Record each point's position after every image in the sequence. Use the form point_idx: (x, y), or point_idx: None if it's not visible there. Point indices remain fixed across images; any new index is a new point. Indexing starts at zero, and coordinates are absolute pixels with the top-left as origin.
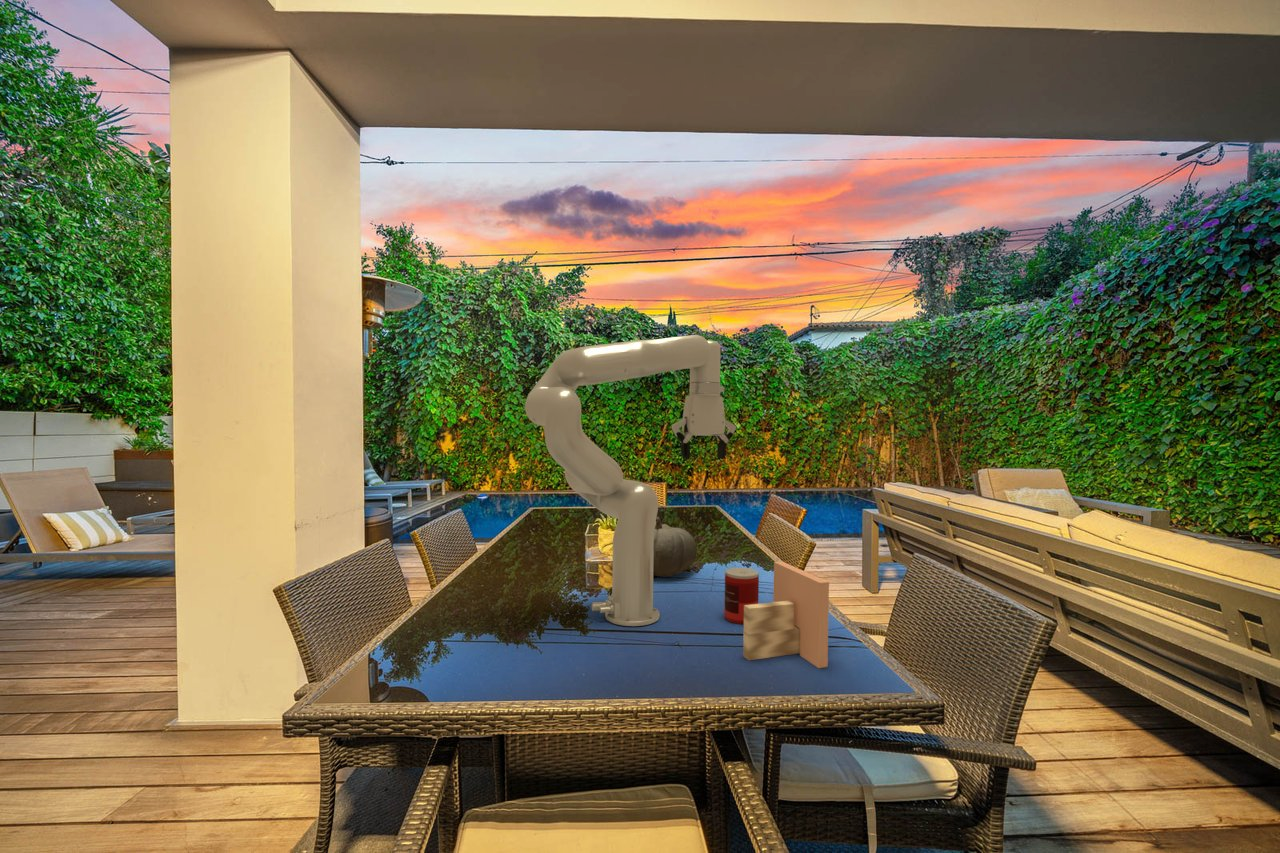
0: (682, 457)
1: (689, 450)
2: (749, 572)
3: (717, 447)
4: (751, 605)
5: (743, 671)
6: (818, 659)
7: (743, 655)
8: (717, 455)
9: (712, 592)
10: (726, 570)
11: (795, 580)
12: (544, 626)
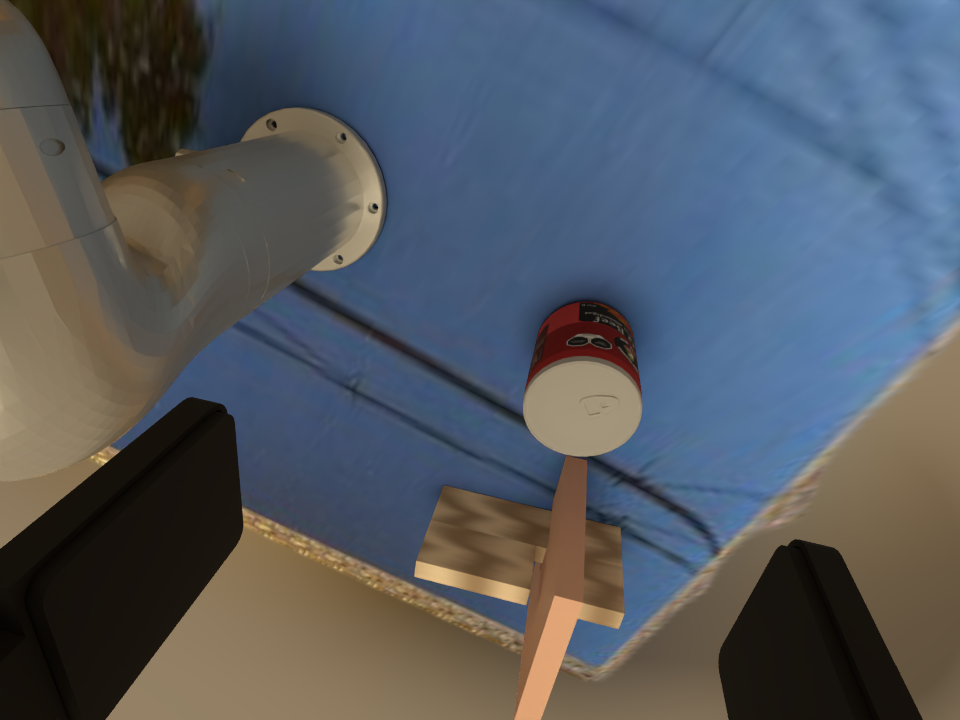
0: (187, 401)
1: (163, 629)
2: (611, 414)
3: (845, 717)
4: (430, 569)
5: (409, 519)
6: (531, 583)
7: (443, 487)
8: (790, 574)
9: (691, 80)
10: (542, 377)
11: (534, 645)
12: None
